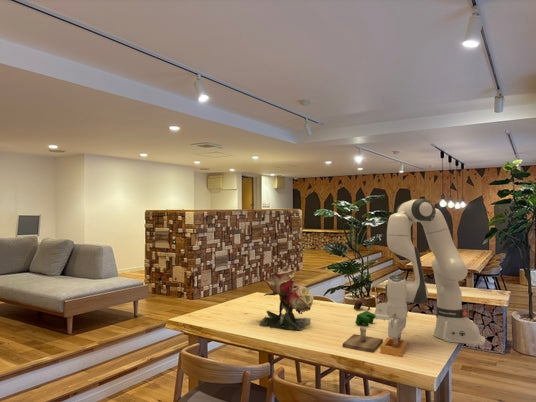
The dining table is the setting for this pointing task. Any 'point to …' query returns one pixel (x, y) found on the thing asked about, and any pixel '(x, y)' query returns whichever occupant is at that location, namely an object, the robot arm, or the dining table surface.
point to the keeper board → (363, 342)
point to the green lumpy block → (365, 318)
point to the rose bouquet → (288, 302)
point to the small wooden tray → (389, 342)
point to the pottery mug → (360, 302)
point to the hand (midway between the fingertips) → (397, 342)
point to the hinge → (381, 311)
